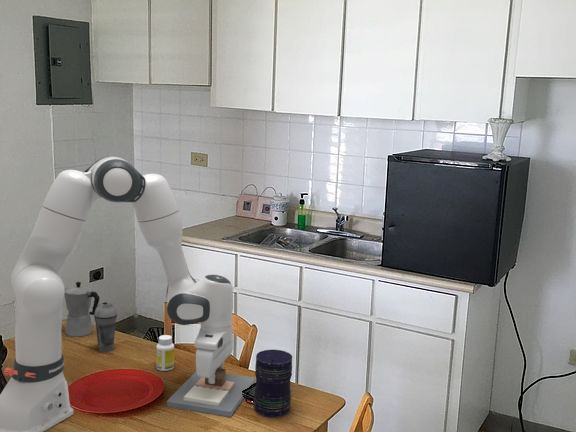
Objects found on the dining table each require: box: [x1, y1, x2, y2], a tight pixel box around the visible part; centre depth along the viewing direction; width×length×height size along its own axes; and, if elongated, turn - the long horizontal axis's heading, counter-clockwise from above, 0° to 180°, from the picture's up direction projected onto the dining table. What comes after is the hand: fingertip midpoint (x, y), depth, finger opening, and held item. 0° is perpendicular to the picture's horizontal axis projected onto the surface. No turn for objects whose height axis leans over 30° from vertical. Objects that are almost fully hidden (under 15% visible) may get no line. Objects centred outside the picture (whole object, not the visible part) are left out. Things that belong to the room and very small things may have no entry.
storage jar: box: [253, 349, 293, 419], centre depth 172 cm, size 10×10×15 cm
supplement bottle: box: [155, 334, 175, 372], centre depth 195 cm, size 5×5×10 cm
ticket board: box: [166, 371, 256, 418], centre depth 180 cm, size 22×18×3 cm
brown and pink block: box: [195, 368, 235, 393], centre depth 181 cm, size 5×10×5 cm, turn 76°
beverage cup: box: [93, 288, 118, 353], centre depth 207 cm, size 7×7×20 cm
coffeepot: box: [64, 281, 100, 338], centre depth 220 cm, size 15×9×18 cm, turn 66°
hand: (215, 379), depth 181 cm, fingers closed on brown and pink block, 3 cm apart
